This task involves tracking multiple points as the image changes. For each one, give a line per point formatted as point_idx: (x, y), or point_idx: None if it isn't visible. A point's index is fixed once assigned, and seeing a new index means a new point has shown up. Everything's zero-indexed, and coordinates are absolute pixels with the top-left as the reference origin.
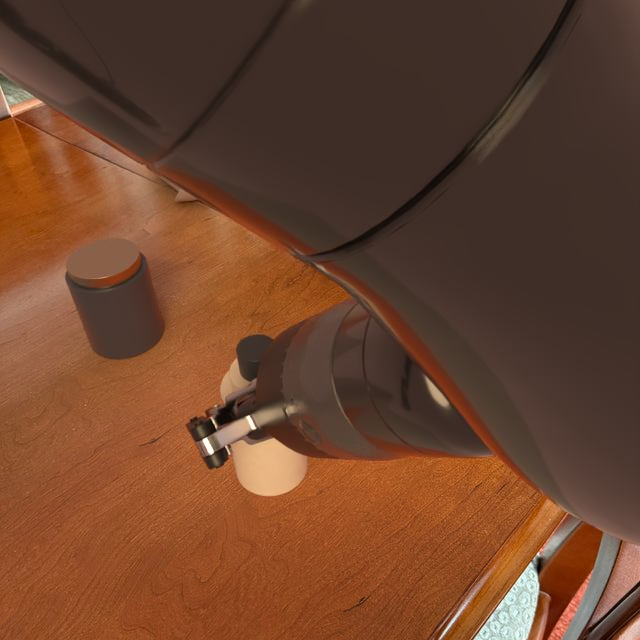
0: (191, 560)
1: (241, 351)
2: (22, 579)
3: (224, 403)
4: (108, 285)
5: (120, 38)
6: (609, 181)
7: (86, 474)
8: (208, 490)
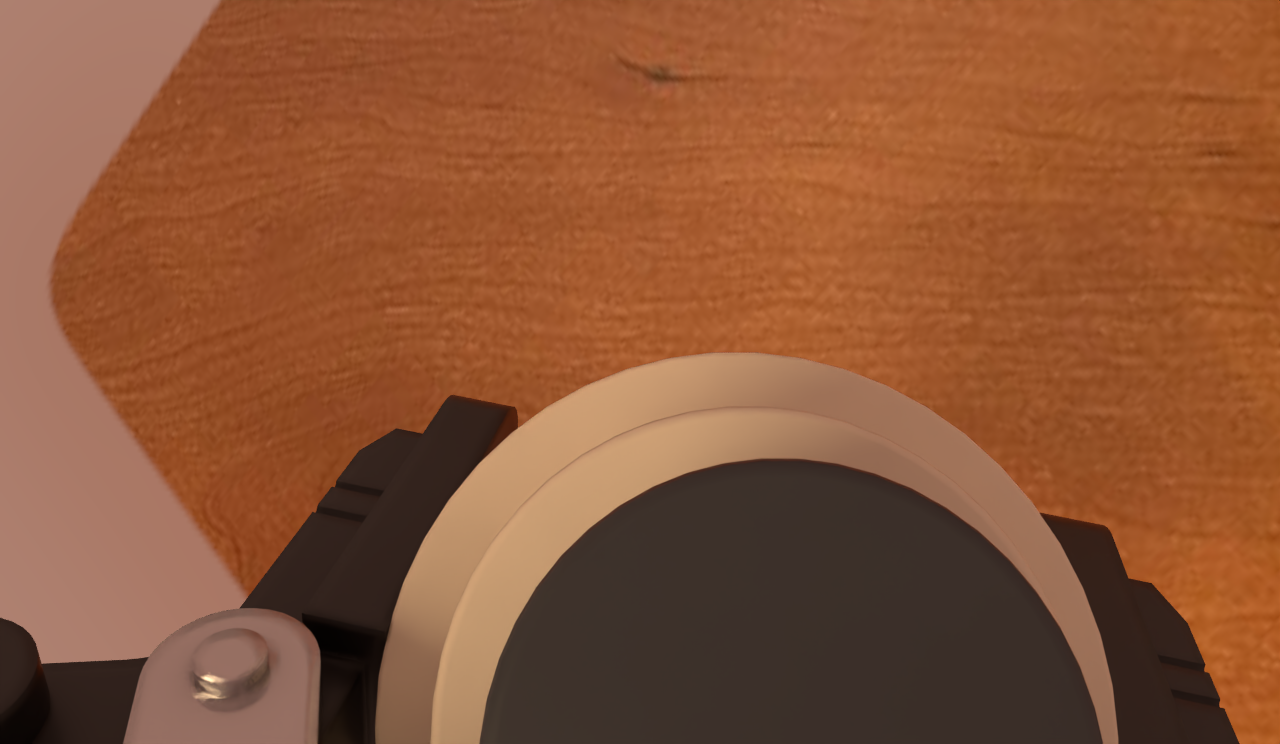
0: None
1: (567, 667)
2: (138, 186)
3: (274, 717)
4: None
5: None
6: None
7: (447, 32)
8: (652, 349)
